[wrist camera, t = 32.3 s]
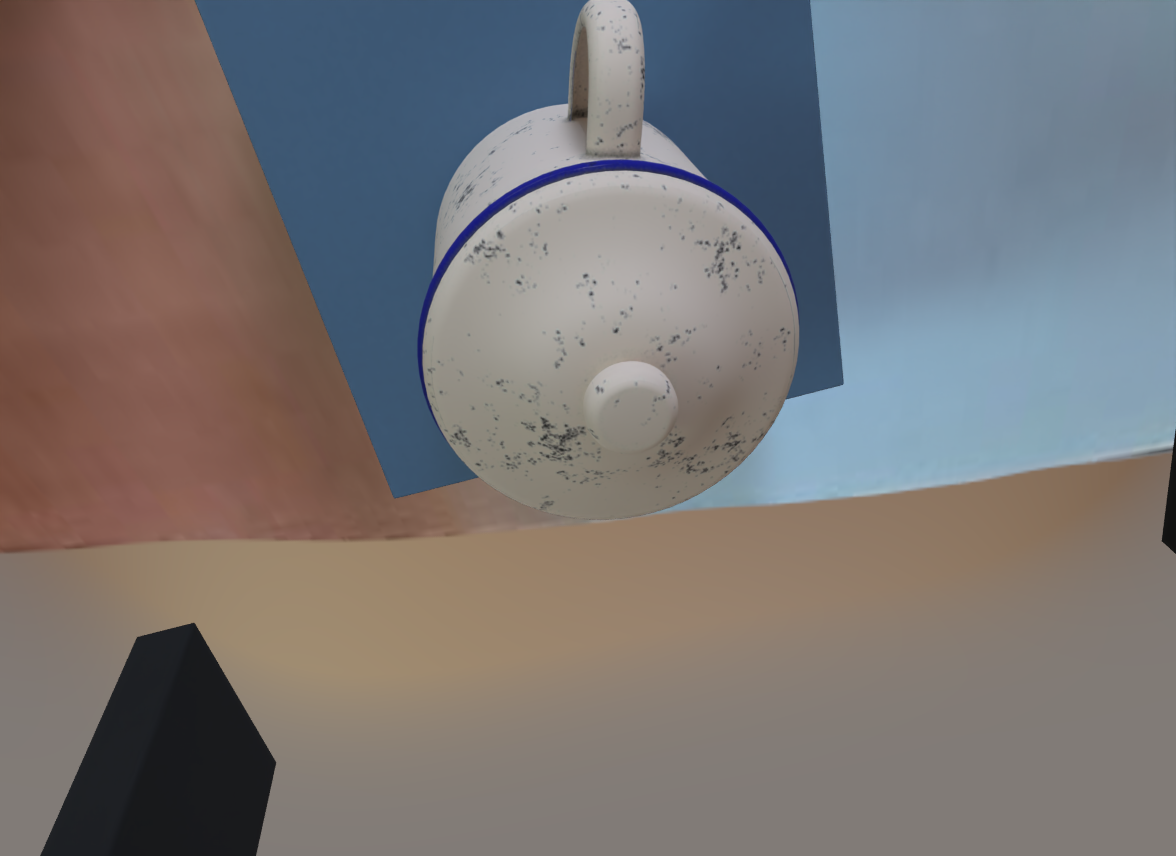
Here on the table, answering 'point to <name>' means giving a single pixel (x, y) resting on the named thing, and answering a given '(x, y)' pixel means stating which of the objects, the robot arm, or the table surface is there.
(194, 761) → the robot arm
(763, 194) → the lunchbox lid
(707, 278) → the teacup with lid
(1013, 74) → the table surface
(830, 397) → the table surface
